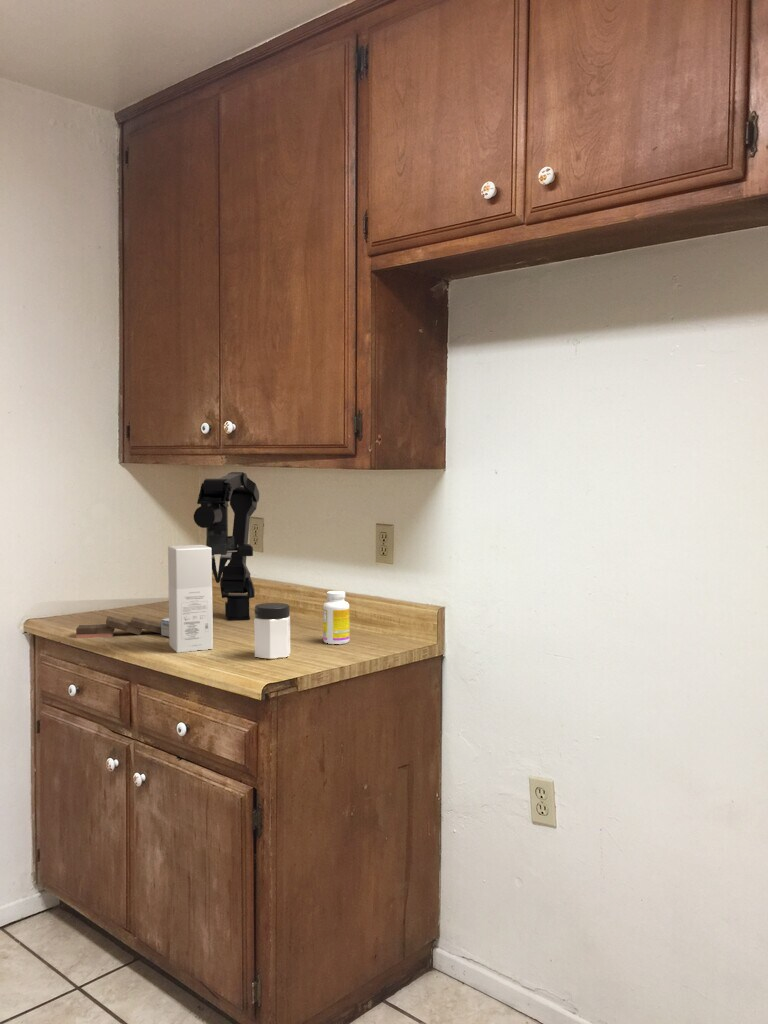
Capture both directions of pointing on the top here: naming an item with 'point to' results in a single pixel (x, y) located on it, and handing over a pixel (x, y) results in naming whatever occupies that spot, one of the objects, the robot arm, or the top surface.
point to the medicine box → (165, 627)
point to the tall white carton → (190, 598)
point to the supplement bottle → (336, 618)
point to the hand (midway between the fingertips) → (217, 582)
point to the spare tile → (93, 635)
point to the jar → (272, 630)
